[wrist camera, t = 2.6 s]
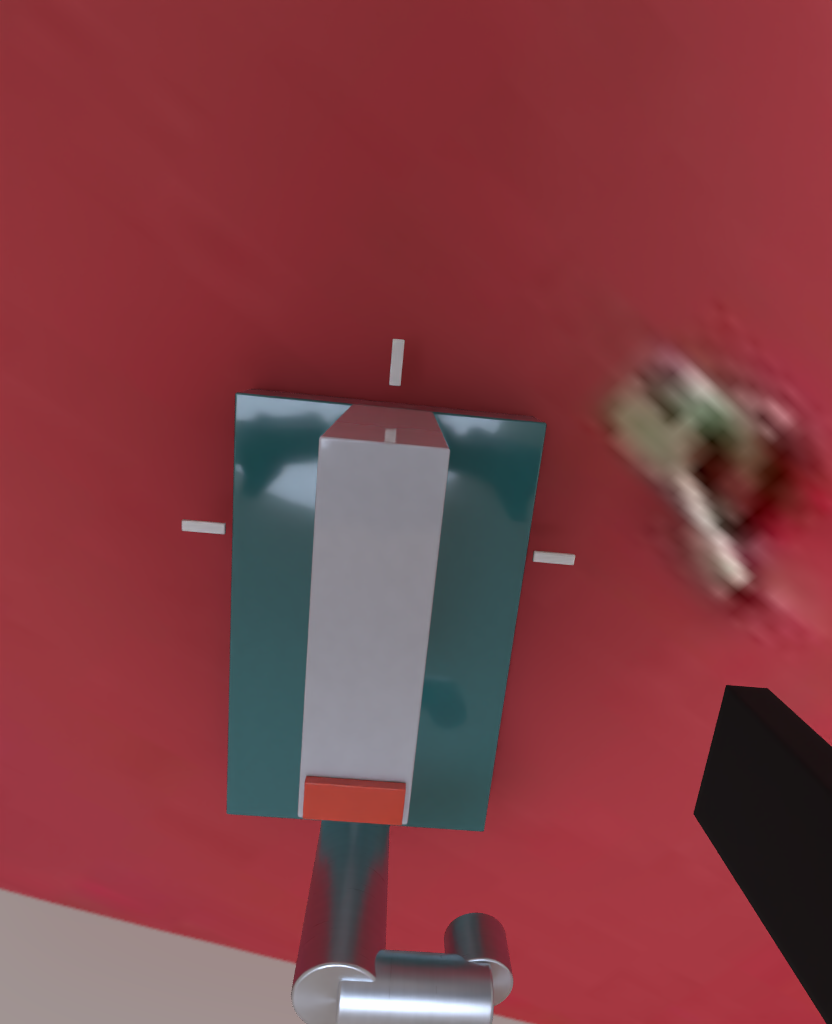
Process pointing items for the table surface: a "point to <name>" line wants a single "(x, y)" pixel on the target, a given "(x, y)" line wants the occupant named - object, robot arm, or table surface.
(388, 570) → the white block
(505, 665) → the teal base plate
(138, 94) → the table surface
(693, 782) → the table surface
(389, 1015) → the spout
